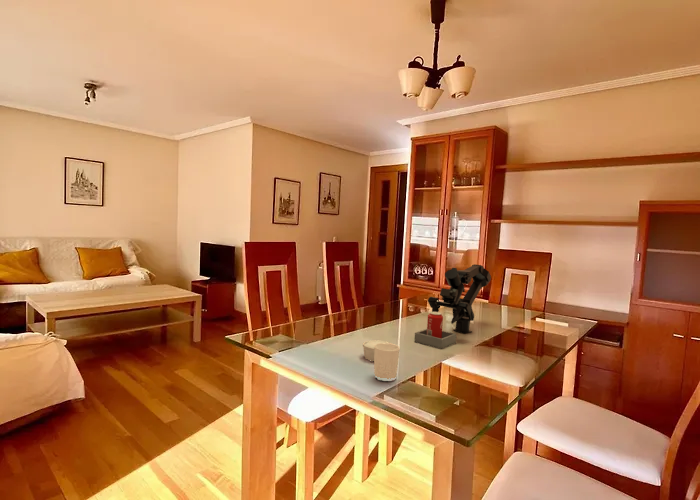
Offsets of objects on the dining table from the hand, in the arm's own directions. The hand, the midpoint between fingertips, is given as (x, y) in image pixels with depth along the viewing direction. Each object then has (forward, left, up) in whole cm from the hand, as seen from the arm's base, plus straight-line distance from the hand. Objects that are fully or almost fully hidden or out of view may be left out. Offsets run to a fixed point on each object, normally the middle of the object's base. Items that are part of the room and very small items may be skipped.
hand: (441, 321), depth 163 cm
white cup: (+50, +19, -9) cm, 54 cm away
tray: (+5, +1, -8) cm, 10 cm away
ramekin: (+40, +4, -9) cm, 41 cm away
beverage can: (+5, 0, -8) cm, 9 cm away
